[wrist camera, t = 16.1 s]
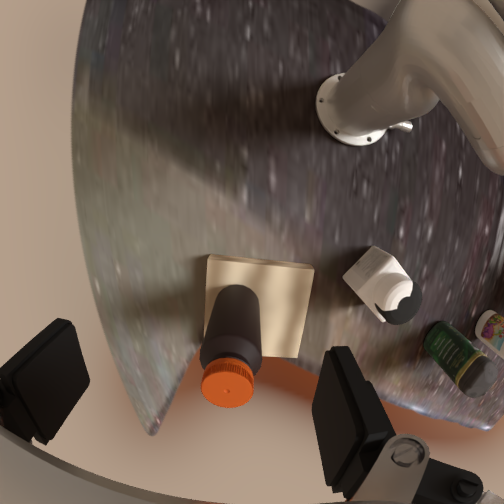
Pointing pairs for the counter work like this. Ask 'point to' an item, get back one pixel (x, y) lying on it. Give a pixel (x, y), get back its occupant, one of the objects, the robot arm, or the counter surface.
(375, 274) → the container
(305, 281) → the plate
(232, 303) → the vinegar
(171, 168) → the counter surface
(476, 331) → the milk bottle
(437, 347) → the coffee jar
